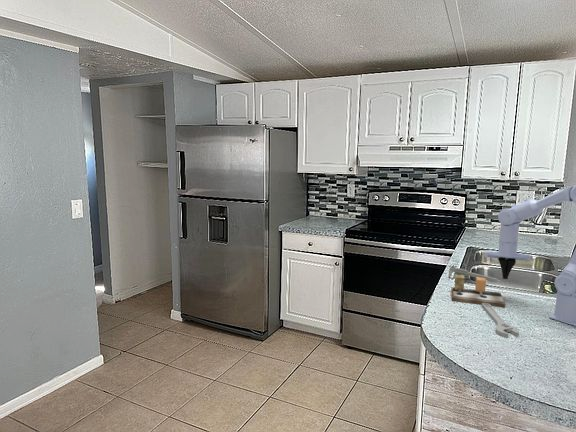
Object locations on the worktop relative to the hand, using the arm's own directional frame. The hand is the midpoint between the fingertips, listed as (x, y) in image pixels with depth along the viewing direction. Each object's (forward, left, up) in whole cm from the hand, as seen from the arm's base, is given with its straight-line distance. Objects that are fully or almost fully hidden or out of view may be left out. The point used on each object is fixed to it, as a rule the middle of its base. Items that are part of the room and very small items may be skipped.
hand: (505, 278), depth 147 cm
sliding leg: (+5, +6, -6) cm, 10 cm away
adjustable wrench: (-10, +20, -9) cm, 24 cm away
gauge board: (+6, +8, -8) cm, 12 cm away
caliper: (+19, -12, -8) cm, 24 cm away
